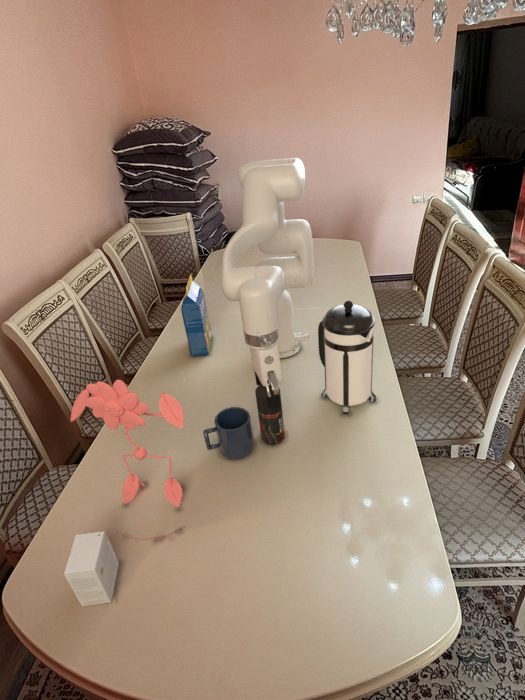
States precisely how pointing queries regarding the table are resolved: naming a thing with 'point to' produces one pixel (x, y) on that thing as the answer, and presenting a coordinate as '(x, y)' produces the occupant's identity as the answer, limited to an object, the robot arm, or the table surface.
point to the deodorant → (269, 418)
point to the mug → (232, 433)
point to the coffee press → (347, 354)
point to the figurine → (130, 426)
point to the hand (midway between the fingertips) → (268, 395)
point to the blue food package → (196, 320)
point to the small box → (92, 568)
